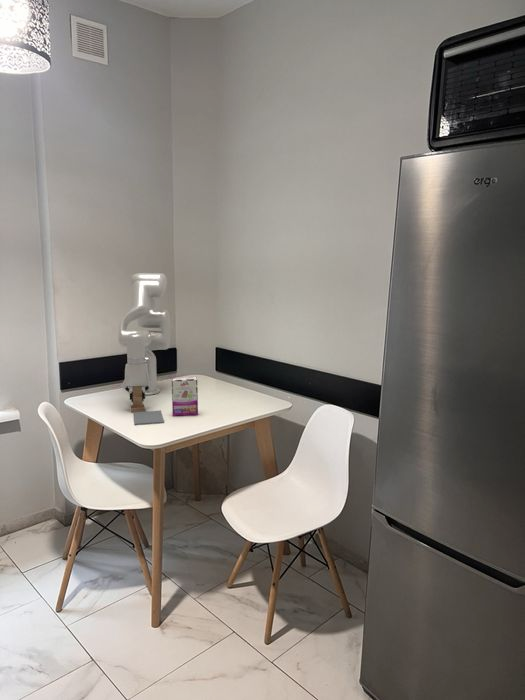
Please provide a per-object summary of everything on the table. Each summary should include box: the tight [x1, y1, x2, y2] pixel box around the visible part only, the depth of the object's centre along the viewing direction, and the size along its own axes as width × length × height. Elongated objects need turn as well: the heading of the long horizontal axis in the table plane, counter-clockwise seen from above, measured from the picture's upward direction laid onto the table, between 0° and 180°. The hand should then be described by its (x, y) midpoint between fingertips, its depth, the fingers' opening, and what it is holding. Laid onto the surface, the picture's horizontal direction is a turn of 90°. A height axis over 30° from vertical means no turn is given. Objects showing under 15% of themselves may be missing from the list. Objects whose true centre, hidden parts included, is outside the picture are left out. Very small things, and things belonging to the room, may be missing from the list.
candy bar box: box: [171, 376, 199, 417], centre depth 224 cm, size 11×5×16 cm, turn 101°
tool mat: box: [132, 410, 165, 426], centre depth 219 cm, size 16×12×1 cm
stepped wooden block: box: [130, 386, 146, 413], centre depth 228 cm, size 6×6×12 cm
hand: (137, 400), depth 229 cm, fingers closed on stepped wooden block, 4 cm apart
